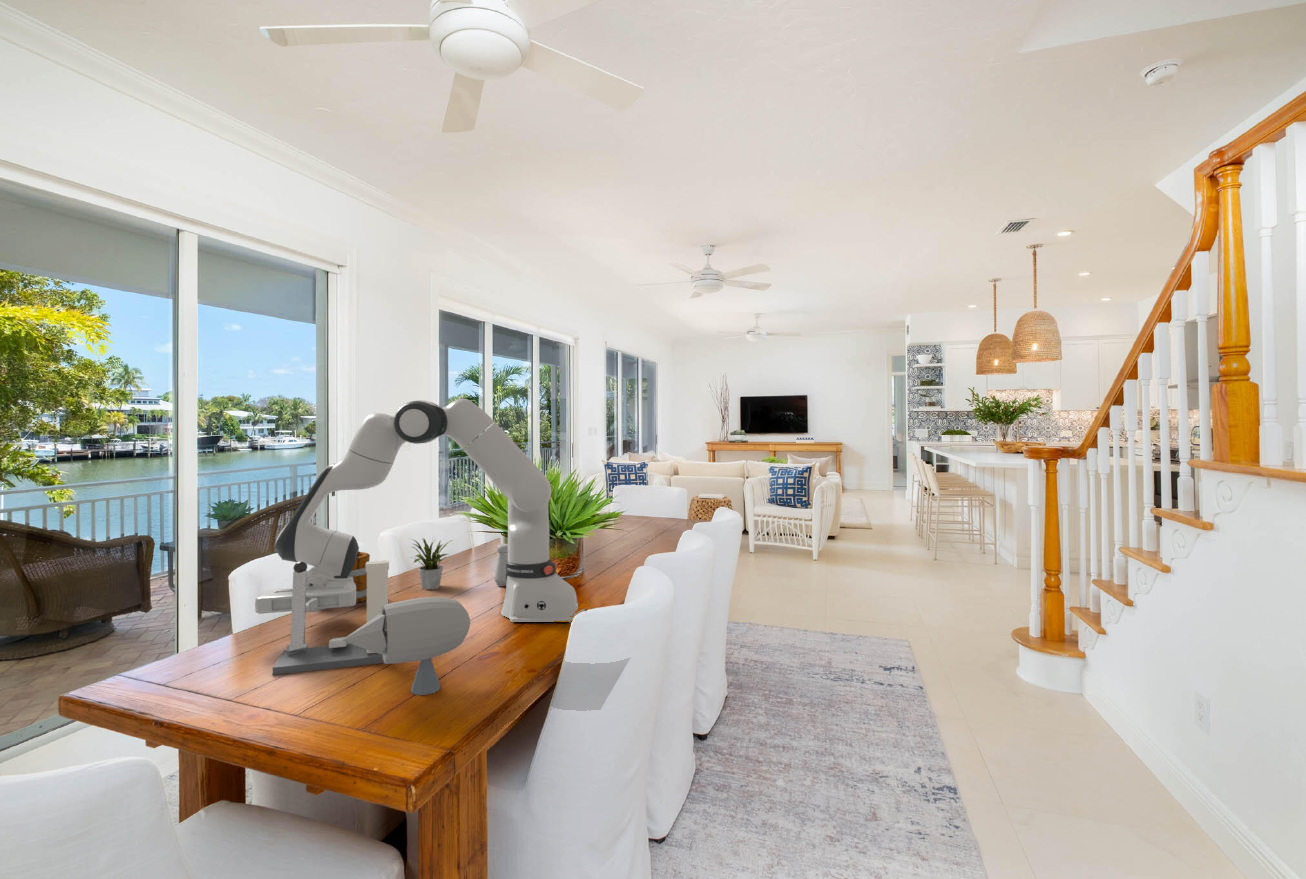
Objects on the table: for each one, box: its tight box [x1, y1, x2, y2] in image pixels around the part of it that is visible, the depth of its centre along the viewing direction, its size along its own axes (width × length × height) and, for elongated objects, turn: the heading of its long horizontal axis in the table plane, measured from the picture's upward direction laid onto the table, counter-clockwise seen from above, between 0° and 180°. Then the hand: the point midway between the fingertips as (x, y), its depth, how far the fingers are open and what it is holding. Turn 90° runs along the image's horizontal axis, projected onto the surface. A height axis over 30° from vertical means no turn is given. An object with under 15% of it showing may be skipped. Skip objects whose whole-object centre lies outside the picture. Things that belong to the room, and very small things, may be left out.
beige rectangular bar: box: [366, 560, 390, 653], centre depth 129 cm, size 2×4×19 cm, turn 109°
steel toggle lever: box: [286, 561, 309, 653], centre depth 129 cm, size 3×4×19 cm
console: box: [272, 643, 385, 676], centre depth 129 cm, size 10×22×2 cm, turn 110°
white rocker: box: [328, 636, 350, 648], centre depth 131 cm, size 5×3×1 cm, turn 20°
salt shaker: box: [493, 543, 508, 587], centre depth 190 cm, size 6×6×13 cm
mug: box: [348, 550, 371, 604], centre depth 171 cm, size 11×16×15 cm, turn 142°
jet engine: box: [341, 596, 471, 696], centre depth 114 cm, size 15×20×18 cm
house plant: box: [408, 536, 453, 590], centre depth 186 cm, size 14×14×16 cm
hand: (301, 608), depth 132 cm, fingers closed
